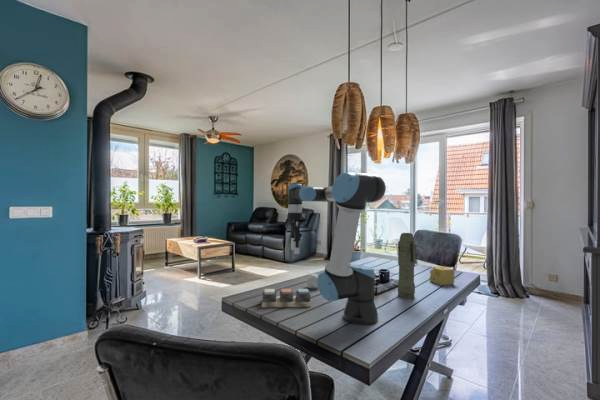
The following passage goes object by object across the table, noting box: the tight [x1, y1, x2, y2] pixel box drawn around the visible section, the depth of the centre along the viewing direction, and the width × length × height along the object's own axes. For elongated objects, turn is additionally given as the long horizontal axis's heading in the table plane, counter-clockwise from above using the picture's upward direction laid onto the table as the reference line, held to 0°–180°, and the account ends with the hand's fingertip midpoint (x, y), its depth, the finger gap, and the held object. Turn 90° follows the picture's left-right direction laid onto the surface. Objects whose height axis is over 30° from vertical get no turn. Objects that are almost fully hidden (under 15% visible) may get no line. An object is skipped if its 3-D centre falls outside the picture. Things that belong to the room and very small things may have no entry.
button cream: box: [263, 288, 276, 294], centre depth 145 cm, size 5×5×3 cm
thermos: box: [397, 232, 417, 300], centre depth 158 cm, size 9×12×35 cm
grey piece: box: [261, 289, 312, 308], centre depth 145 cm, size 24×10×6 cm, turn 94°
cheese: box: [429, 265, 455, 286], centre depth 186 cm, size 10×11×10 cm
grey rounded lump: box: [305, 273, 319, 289], centre depth 172 cm, size 8×9×10 cm
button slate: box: [297, 288, 310, 294], centre depth 146 cm, size 5×5×3 cm
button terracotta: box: [281, 288, 292, 294], centre depth 145 cm, size 5×5×3 cm
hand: (294, 251), depth 155 cm, fingers open, 13 cm apart
